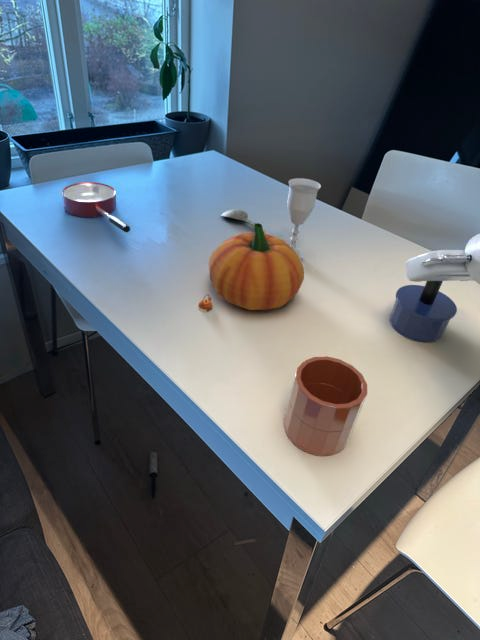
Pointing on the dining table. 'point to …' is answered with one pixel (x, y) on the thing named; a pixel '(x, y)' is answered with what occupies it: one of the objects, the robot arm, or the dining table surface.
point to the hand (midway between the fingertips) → (439, 277)
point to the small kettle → (205, 304)
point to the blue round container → (416, 325)
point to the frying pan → (92, 201)
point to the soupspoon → (238, 216)
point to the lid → (426, 301)
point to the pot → (324, 405)
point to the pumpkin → (256, 270)
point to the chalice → (300, 204)
